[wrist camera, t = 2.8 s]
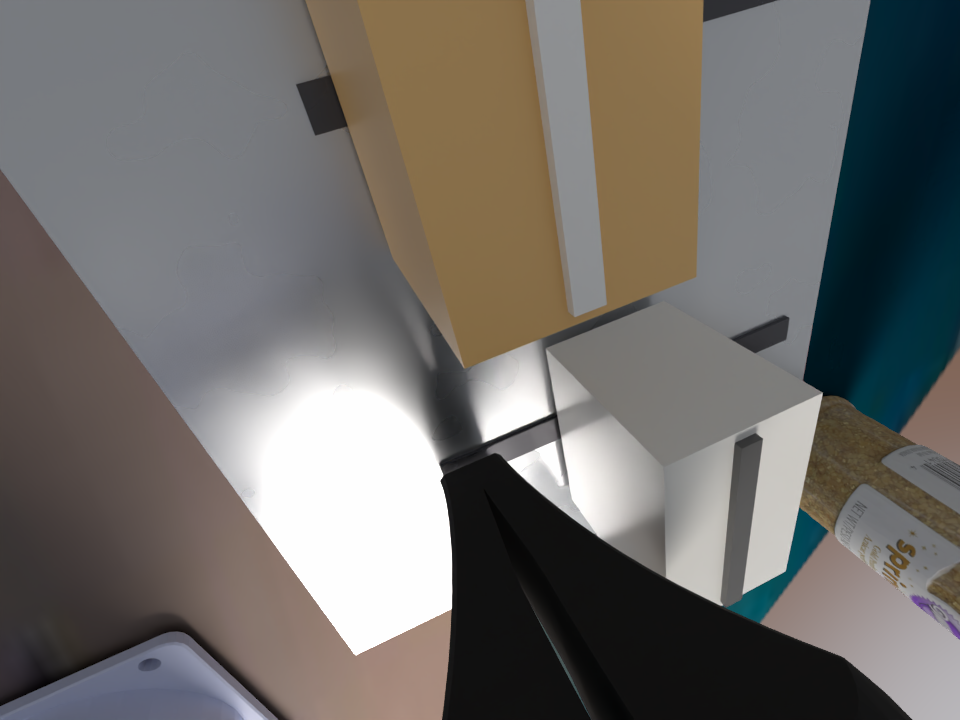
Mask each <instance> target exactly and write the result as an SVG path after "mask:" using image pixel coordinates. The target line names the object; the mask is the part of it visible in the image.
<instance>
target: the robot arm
mask: <svg viewBox="0 0 960 720" xmlns="http://www.w3.org/2000/svg"><path fill="white" fill-rule="evenodd" d="M440 483H441V485H442V488H443V492H444V496H445V500H446V506H447V512H448V520H449V528H450V543H451V559H452V614H451V635H450V649H449V662H448V673H447V682H446V691H445V701H444V709H443V717H442V720H912V719H911V718H910V717H909V716H908V715H907V714H906V713H905V712H904V711H903V710H902V709H901V708H900V707H899V706H898V705H897V704H896V703H895V702H894V701H893V700H892V699H891V698H890V697H889V696H888V695H887V694H886V693H885V692H884V691H883V690H881V689H880V688H879V687H878V686H877V685H876V684H874V683H873V682H872V681H871V680H870V679H869V678H867V677H866V676H865V675H864V674H863V673H861V672H860V671H859V670H858V669H857V668H856V667H854V666H853V665H852V664H851V663H849V662H848V661H847V660H846V659H845V658H843V657H841V656H838V655H836V654H833V653H831V652H828V651H826V650H823V649H821V648H818V647H815V646H813V645H810V644H808V643H805V642H802V641H800V640H797V639H795V638H793V637H790V636H788V635H785V634H783V633H781V632H778V631H776V630H773V629H771V628H768V627H766V626H764V625H762V624H759V623H757V622H755V621H753V620H750V619H748V618H746V617H744V616H741V615H739V614H737V613H735V612H732V611H730V610H728V609H726V608H724V607H722V606H720V605H718V604H716V603H714V602H712V601H710V600H708V599H706V598H704V597H702V596H700V595H698V594H696V593H694V592H692V591H690V590H688V589H686V588H684V587H682V586H680V585H678V584H676V583H674V582H672V581H670V580H669V579H667V578H665V577H663V576H661V575H660V574H658V573H656V572H654V571H653V570H651V569H649V568H647V567H645V566H644V565H642V564H640V563H639V562H637V561H635V560H634V559H632V558H631V557H629V556H627V555H626V554H624V553H622V552H621V551H619V550H618V549H616V548H614V547H613V546H611V545H610V544H608V543H607V542H605V541H604V540H602V539H601V538H599V537H598V536H597V535H595V534H594V533H592V532H591V531H589V530H588V529H586V528H585V527H584V526H582V525H581V524H579V523H578V522H577V521H575V520H574V519H573V518H571V517H570V516H569V515H567V514H566V513H565V512H564V511H562V510H561V509H560V508H558V507H557V506H556V505H555V504H553V503H552V502H551V501H550V500H548V499H547V498H546V497H545V496H543V495H542V494H541V493H540V492H539V491H537V490H536V489H535V488H534V487H533V486H532V485H531V484H530V483H528V482H527V481H526V480H525V479H524V478H523V477H522V476H521V475H520V474H519V473H518V472H517V471H515V470H514V469H513V468H512V467H511V466H510V464H509V463H508V462H507V461H506V460H505V459H504V458H503V457H502V456H501V455H500V454H497V453H493V454H491V455H489V456H486V457H484V458H482V459H479V460H477V461H475V462H472V463H470V464H468V465H465V466H463V467H461V468H459V469H456V470H454V471H452V472H449V473H447V474H445V475H443V477H442V478H441V480H440ZM531 606H532V607H531ZM532 608H533V609H532ZM533 610H534V611H535V613H536V615H537V617H538V618H539V620H540V622H541V624H542V625H543V627H544V629H545V630H546V632H547V634H548V636H549V637H550V639H551V641H552V643H553V644H554V646H555V648H556V649H557V651H558V653H559V655H560V656H561V658H562V660H563V662H564V664H565V666H566V668H567V670H568V672H569V673H570V675H571V677H572V679H573V682H574V684H575V686H576V688H577V690H578V692H579V694H580V696H581V698H582V701H583V703H584V705H585V707H586V709H587V711H588V713H589V715H590V717H589V715H588V713H587V712H586V710H585V708H584V706H583V704H582V702H581V700H580V698H579V697H578V695H577V693H576V691H575V689H574V687H573V685H572V684H571V682H570V680H569V678H568V676H567V674H566V672H565V670H564V668H563V667H562V665H561V663H560V661H559V659H558V657H557V655H556V653H555V651H554V649H553V647H552V646H551V644H550V642H549V640H548V638H547V636H546V634H545V632H544V630H543V628H542V626H541V624H540V622H539V620H538V619H537V617H536V615H535V613H534V611H533ZM590 718H591V719H590ZM0 720H278V719H277V718H276V717H275V716H274V715H273V714H272V713H271V712H270V711H269V710H268V709H267V708H266V707H264V706H263V705H262V704H261V703H260V702H259V701H258V700H257V699H256V698H255V697H254V696H253V695H252V694H251V693H250V692H249V691H247V690H246V689H245V688H244V687H243V686H242V685H241V684H240V683H239V682H238V681H237V680H236V679H235V678H234V677H233V676H232V675H230V674H229V673H228V672H227V671H226V670H225V669H224V668H223V667H222V666H221V665H220V664H219V663H218V662H217V661H216V660H214V659H213V658H212V657H211V656H210V655H209V654H208V653H207V652H206V651H205V650H204V649H203V648H202V647H201V646H200V645H199V644H197V643H196V642H195V641H194V640H193V639H192V638H191V637H190V636H189V635H187V634H185V633H183V632H177V631H175V632H168V633H164V634H161V635H159V636H157V637H155V638H153V639H150V640H148V641H146V642H144V643H141V644H139V645H137V646H135V647H132V648H130V649H128V650H126V651H123V652H121V653H119V654H117V655H114V656H112V657H110V658H108V659H105V660H103V661H101V662H99V663H96V664H94V665H92V666H90V667H87V668H85V669H83V670H81V671H78V672H76V673H74V674H72V675H69V676H67V677H65V678H63V679H60V680H58V681H56V682H54V683H51V684H49V685H47V686H45V687H42V688H40V689H38V690H36V691H33V692H31V693H29V694H27V695H24V696H22V697H20V698H18V699H15V700H13V701H11V702H9V703H6V704H4V705H2V706H0Z"/></svg>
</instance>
